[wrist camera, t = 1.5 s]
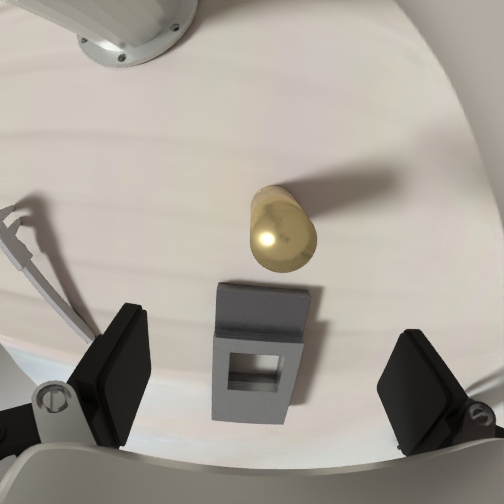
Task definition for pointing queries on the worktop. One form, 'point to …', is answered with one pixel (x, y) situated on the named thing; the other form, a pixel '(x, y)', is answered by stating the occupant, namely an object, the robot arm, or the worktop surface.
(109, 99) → the worktop surface
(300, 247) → the pin
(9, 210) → the caliper
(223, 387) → the grey socket block
